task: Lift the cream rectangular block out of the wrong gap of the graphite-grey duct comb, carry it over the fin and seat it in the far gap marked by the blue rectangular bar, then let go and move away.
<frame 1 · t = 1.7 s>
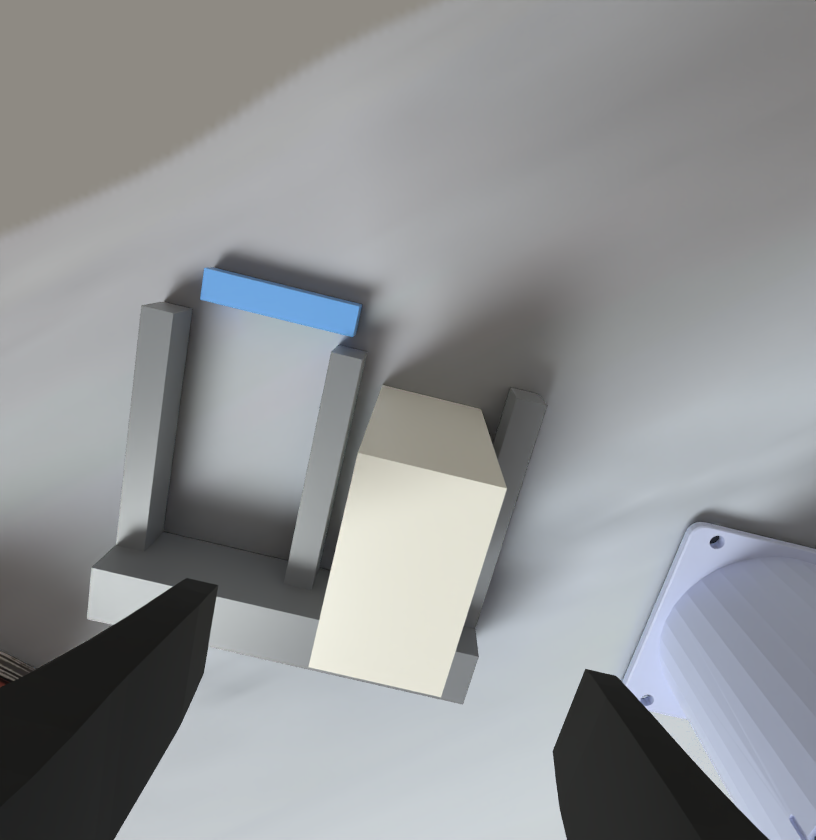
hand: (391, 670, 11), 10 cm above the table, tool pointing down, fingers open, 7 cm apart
duct comb: (329, 456, 20), on the table
cream rectangular block: (411, 475, 21), resting in duct comb
blue rectangular bar: (285, 301, 19), on the table
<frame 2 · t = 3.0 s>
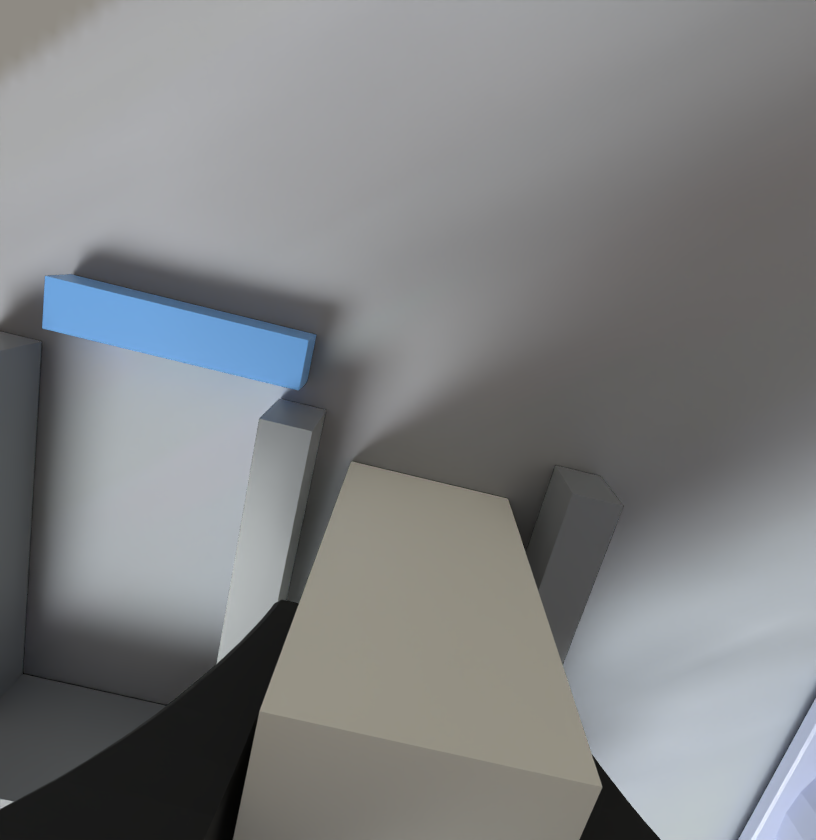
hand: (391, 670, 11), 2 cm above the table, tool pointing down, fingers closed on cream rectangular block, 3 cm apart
duct comb: (270, 568, 13), on the table
cream rectangular block: (397, 597, 13), resting in duct comb, touching gripper
blue rectangular bar: (191, 329, 12), on the table
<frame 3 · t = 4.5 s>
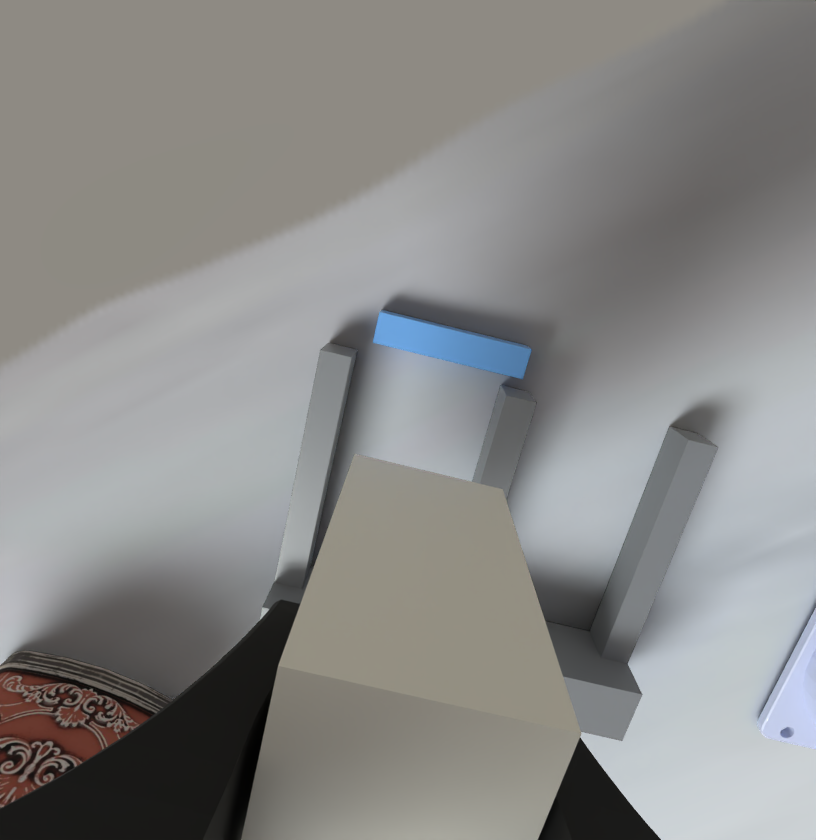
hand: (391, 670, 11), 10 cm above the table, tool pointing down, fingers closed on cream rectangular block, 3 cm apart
duct comb: (483, 493, 21), on the table
cream rectangular block: (398, 582, 14), point 7 cm above the table, touching gripper
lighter: (99, 696, 24), on the table
blue rectangular bar: (451, 342, 19), on the table
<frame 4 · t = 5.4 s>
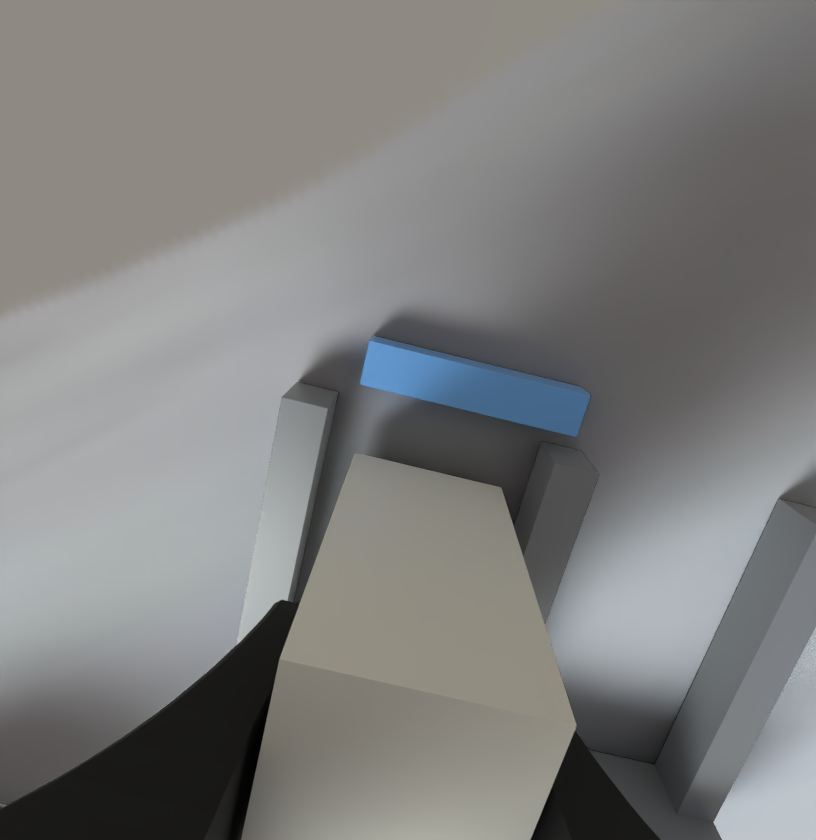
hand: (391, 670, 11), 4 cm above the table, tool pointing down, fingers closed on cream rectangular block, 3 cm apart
duct comb: (513, 587, 15), on the table
cream rectangular block: (398, 580, 14), point 1 cm above the table, touching gripper
blue rectangular bar: (472, 382, 13), on the table
when the fingers open (3 cm above the table, at t = 5.9 s): cream rectangular block stays where it is, resting in duct comb.
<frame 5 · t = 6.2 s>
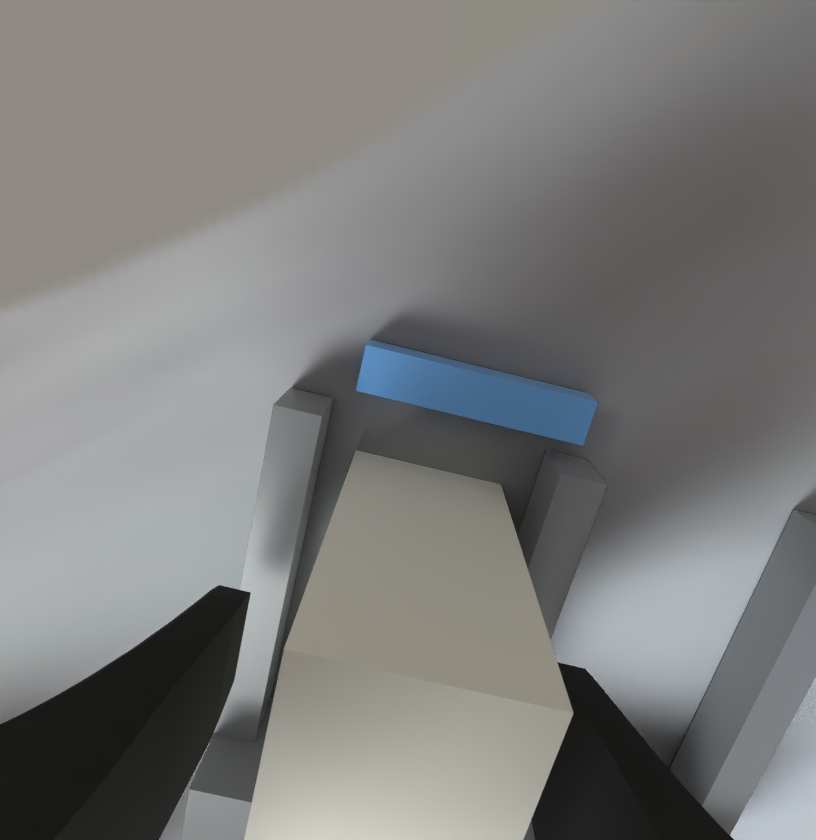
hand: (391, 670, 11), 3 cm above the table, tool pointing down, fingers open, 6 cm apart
duct comb: (516, 601, 14), on the table
cream rectangular block: (399, 576, 14), resting in duct comb
blue rectangular bar: (473, 387, 13), on the table
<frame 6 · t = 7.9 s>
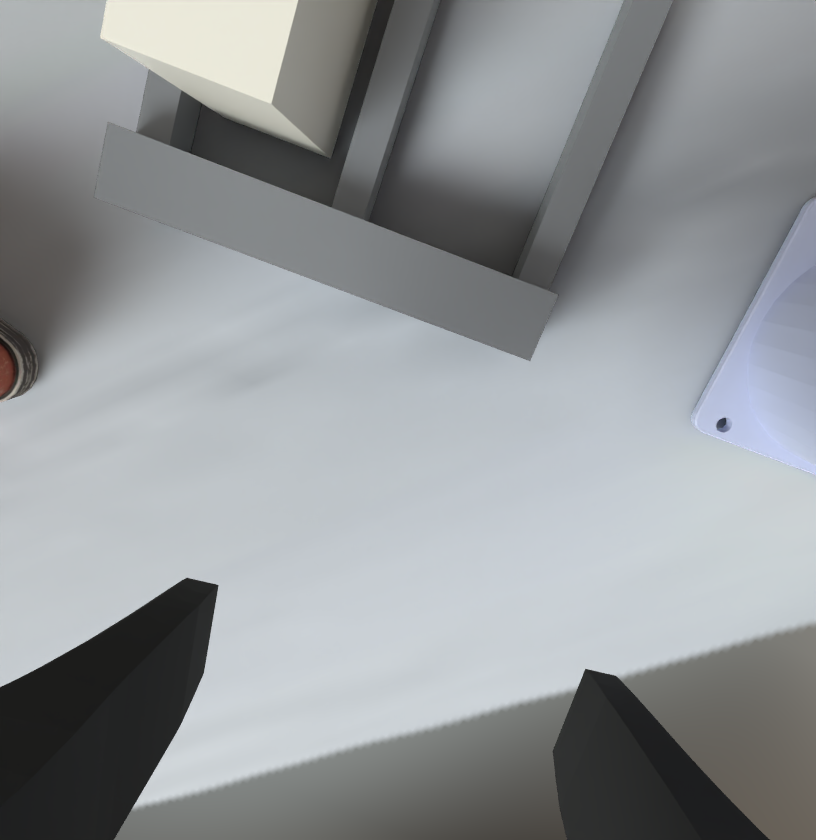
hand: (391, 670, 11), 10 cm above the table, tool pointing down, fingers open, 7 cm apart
duct comb: (400, 68, 17), on the table
cream rectangular block: (306, 34, 17), resting in duct comb
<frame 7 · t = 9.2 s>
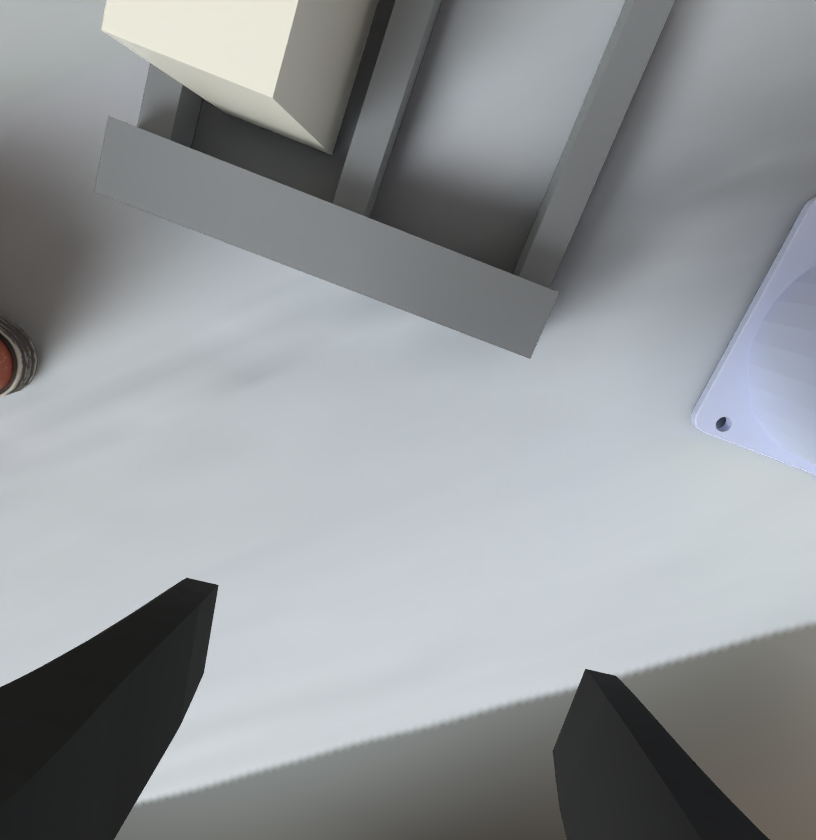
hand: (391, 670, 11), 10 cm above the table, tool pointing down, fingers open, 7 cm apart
duct comb: (402, 64, 17), on the table
cream rectangular block: (307, 30, 17), resting in duct comb
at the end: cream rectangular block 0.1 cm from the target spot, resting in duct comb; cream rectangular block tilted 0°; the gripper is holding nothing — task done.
